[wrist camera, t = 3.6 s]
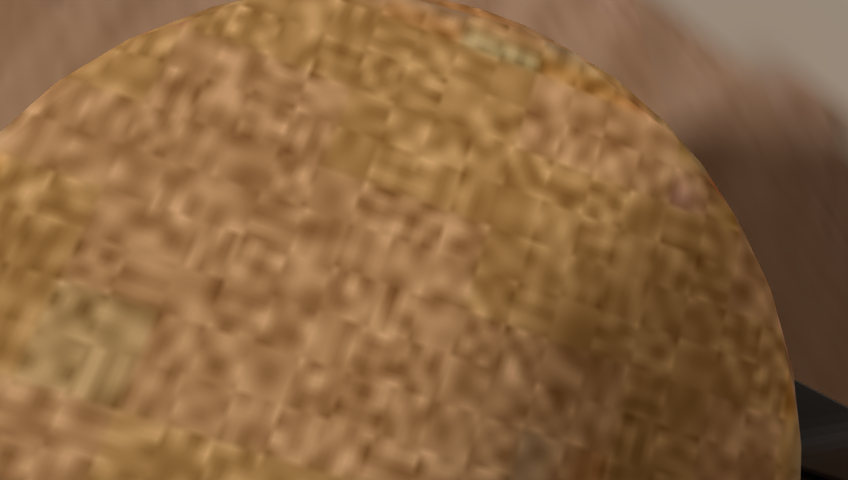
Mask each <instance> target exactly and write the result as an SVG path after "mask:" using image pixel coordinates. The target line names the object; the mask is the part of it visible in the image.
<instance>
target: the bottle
mask: <svg viewBox="0 0 848 480" xmlns="http://www.w3.org/2000/svg"><path fill="white" fill-rule="evenodd" d="M0 480H801V439H800V430H799V421H798V412H797V403H796V393H795V384H794V375H793V369H792V365H791V361H790V358H789V354H788V350H787V347H786V343H785V339H784V336H783V332H782V328H781V325H780V321H779V317H778V314H777V310H776V306H775V303H774V299H773V295H772V292H771V289H770V287H769V285H768V283H767V281H766V279H765V276H764V274H763V272H762V270H761V268H760V266H759V263H758V261H757V259H756V257H755V255H754V253H753V250H752V248H751V246H750V244H749V242H748V240H747V237H746V235H745V233H744V231H743V229H742V227H741V224H740V223H739V221H738V220H737V218H736V216H735V215H734V213H733V212H732V210H731V208H730V207H729V205H728V204H727V202H726V201H725V199H724V198H723V196H722V195H721V193H720V191H719V190H718V188H717V187H716V185H715V184H714V182H713V181H712V179H711V177H710V176H709V174H708V173H707V171H706V170H705V168H704V167H703V165H702V163H701V162H700V161H699V160H698V159H697V158H696V157H695V155H694V154H693V153H692V152H691V151H690V150H689V149H688V148H687V146H686V145H685V144H684V143H683V142H682V141H681V140H680V138H679V137H678V136H677V135H676V134H675V133H674V132H673V130H672V129H671V128H670V127H669V126H668V125H667V124H666V123H665V122H664V121H663V120H662V119H661V118H660V117H659V116H657V115H656V114H655V113H654V112H653V111H652V110H651V109H650V108H648V107H647V106H646V105H645V104H644V103H643V102H642V101H641V100H639V99H638V98H637V97H636V96H635V95H634V94H633V93H632V92H630V91H629V90H628V89H627V88H626V87H625V86H624V85H623V84H621V83H620V82H619V81H618V80H617V79H616V78H614V77H613V76H611V75H609V74H608V73H606V72H604V71H603V70H601V69H599V68H598V67H596V66H595V65H593V64H591V63H590V62H588V61H586V60H585V59H583V58H582V57H580V56H578V55H577V54H575V53H573V52H572V51H570V50H568V49H567V48H565V47H563V46H562V45H560V44H558V43H556V42H555V41H553V40H551V39H549V38H547V37H545V36H543V35H542V34H540V33H538V32H536V31H534V30H532V29H531V28H529V27H527V26H525V25H522V24H520V23H517V22H514V21H512V20H509V19H506V18H503V17H501V16H498V15H495V14H493V13H490V12H487V11H485V10H482V9H478V8H474V7H470V6H466V5H462V4H458V3H453V2H449V1H445V0H241V1H237V2H232V3H228V4H223V5H219V6H214V7H211V8H209V9H206V10H203V11H201V12H198V13H196V14H193V15H190V16H188V17H185V18H182V19H180V20H177V21H175V22H172V23H169V24H167V25H164V26H162V27H159V28H156V29H154V30H151V31H149V32H146V33H143V34H141V35H138V36H135V37H133V38H130V39H128V40H127V41H125V42H123V43H122V44H120V45H118V46H116V47H115V48H113V49H111V50H110V51H108V52H106V53H105V54H103V55H101V56H100V57H98V58H96V59H95V60H93V61H91V62H90V63H88V64H86V65H85V66H83V67H81V68H80V69H78V70H76V71H75V72H73V73H71V74H69V75H68V76H66V77H64V78H63V79H61V80H59V81H58V82H56V83H55V84H54V85H53V86H52V87H51V88H49V89H48V90H47V91H46V92H45V93H44V94H43V95H41V96H40V97H39V98H38V99H37V100H36V101H35V102H34V103H32V104H31V105H30V106H29V107H28V108H27V109H26V110H24V111H23V112H22V113H21V114H20V115H19V116H18V117H17V118H15V119H14V120H13V121H12V122H11V123H10V124H9V125H7V126H6V127H5V128H4V129H3V130H2V131H1V132H0Z"/></svg>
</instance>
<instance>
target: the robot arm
mask: <svg viewBox="0 0 848 480" xmlns="http://www.w3.org/2000/svg"><path fill="white" fill-rule="evenodd" d="M794 384H795V393H796V403H797V412H798V421H799V430H800V439H801V480H848V407H847V406H845V405H843V404H841V403H839V402H837V401H835V400H833V399H831V398H829V397H827V396H825V395H824V394H822V393H820V392H818V391H816V390H814V389H812V388H810V387H808V386H806V385H804V384H802V383H800V382H798V381H796V380H794Z"/></svg>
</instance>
